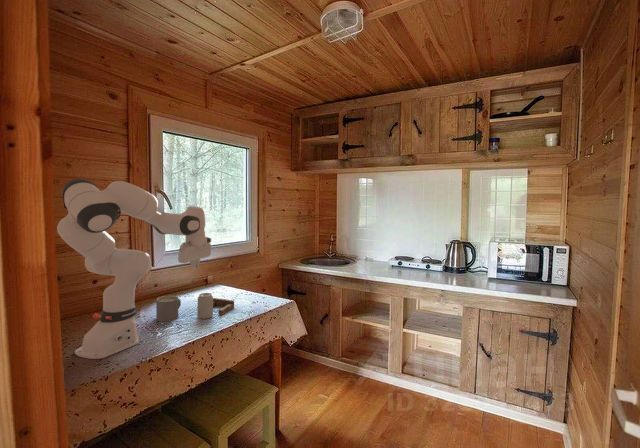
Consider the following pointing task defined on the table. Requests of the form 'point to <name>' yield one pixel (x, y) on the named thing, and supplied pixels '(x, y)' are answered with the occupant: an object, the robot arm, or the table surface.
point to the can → (205, 305)
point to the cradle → (223, 305)
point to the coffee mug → (167, 308)
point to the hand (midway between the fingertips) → (195, 268)
